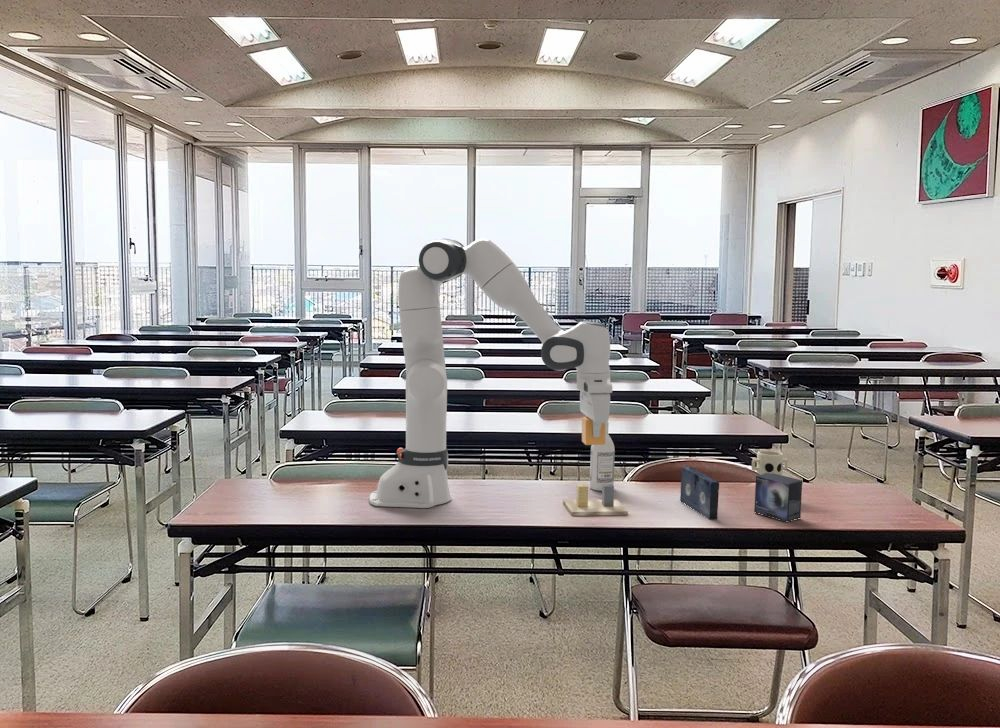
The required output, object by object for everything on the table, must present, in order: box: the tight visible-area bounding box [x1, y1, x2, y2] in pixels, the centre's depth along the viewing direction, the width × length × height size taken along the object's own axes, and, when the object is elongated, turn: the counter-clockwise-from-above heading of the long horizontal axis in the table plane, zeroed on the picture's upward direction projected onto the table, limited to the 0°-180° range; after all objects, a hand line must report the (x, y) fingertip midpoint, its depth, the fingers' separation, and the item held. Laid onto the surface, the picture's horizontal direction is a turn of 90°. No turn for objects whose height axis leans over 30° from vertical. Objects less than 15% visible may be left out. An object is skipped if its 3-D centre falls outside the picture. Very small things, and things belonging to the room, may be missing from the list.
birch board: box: [562, 498, 629, 517], centre depth 228 cm, size 15×12×1 cm
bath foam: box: [589, 421, 616, 492], centre depth 250 cm, size 7×7×20 cm
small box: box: [753, 473, 803, 522], centre depth 224 cm, size 11×6×10 cm, turn 36°
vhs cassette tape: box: [679, 466, 720, 520], centre depth 229 cm, size 18×3×10 cm, turn 11°
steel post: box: [601, 484, 615, 507], centre depth 228 cm, size 3×3×6 cm
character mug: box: [751, 449, 789, 475], centre depth 243 cm, size 11×7×13 cm, turn 99°
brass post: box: [575, 483, 589, 507], centre depth 227 cm, size 3×3×6 cm
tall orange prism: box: [581, 416, 605, 446], centre depth 225 cm, size 5×5×7 cm
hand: (593, 434), depth 226 cm, fingers closed on tall orange prism, 5 cm apart
